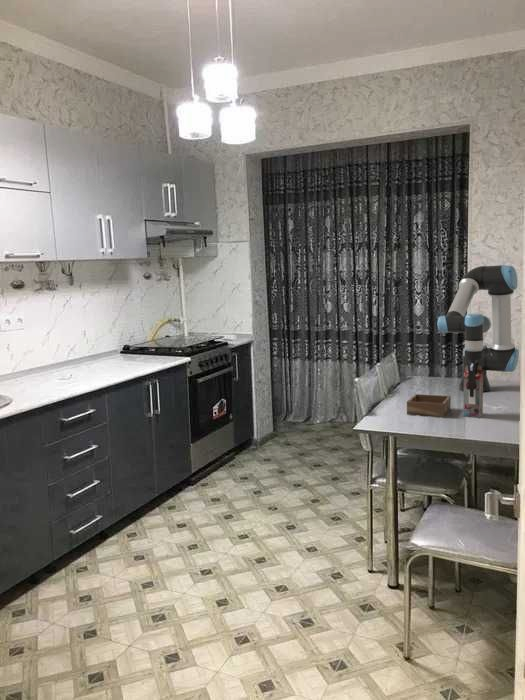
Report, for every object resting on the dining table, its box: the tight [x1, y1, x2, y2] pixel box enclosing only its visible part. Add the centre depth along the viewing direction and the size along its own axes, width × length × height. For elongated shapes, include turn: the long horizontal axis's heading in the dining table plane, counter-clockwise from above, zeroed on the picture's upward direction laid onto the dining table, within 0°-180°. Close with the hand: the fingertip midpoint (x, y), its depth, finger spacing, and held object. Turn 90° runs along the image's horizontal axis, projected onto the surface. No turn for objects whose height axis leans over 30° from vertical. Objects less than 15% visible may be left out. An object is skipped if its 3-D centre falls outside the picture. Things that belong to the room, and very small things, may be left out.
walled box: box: [406, 393, 452, 418], centre depth 266 cm, size 16×16×6 cm
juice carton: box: [462, 366, 484, 419], centre depth 256 cm, size 7×7×22 cm
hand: (473, 401), depth 257 cm, fingers closed on juice carton, 7 cm apart
